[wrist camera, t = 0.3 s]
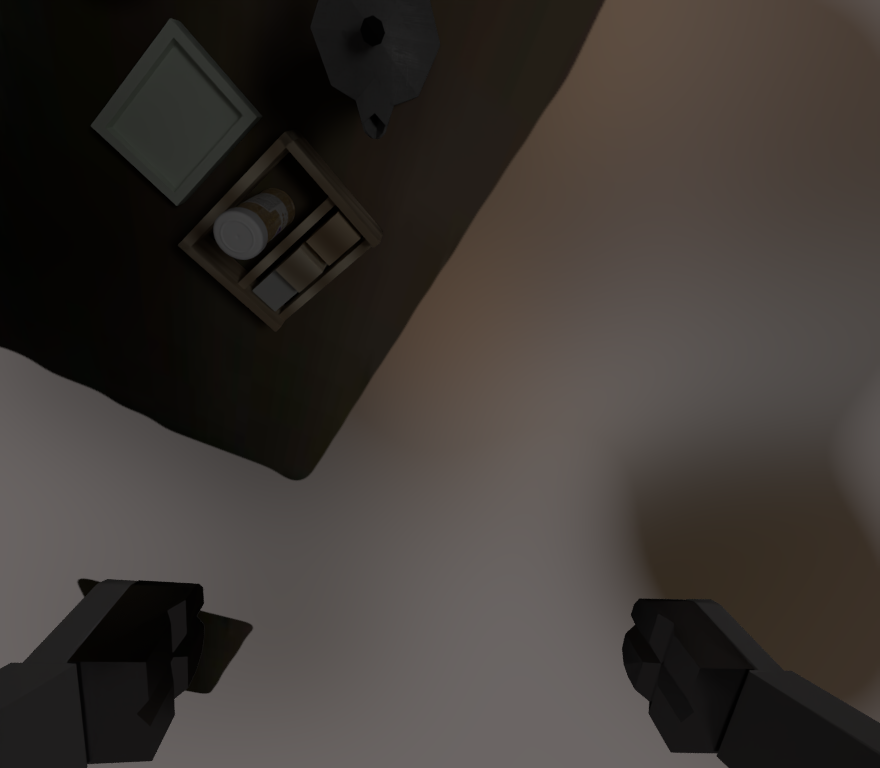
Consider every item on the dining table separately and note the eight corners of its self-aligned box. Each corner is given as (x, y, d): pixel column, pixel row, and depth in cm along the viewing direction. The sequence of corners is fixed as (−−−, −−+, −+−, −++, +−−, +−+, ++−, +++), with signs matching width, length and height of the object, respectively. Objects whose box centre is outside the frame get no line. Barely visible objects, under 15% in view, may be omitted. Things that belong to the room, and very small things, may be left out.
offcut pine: (309, 235, 54) (299, 248, 49) (330, 258, 55) (322, 272, 51) (287, 255, 55) (275, 270, 50) (308, 277, 56) (299, 292, 52)
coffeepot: (428, 133, 48) (432, 149, 33) (342, 123, 47) (306, 135, 32) (443, -59, 40) (458, -155, 25) (339, -76, 39) (289, -186, 24)
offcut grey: (285, 257, 55) (276, 267, 52) (306, 278, 57) (299, 290, 53) (262, 279, 56) (252, 290, 53) (283, 299, 58) (275, 311, 55)
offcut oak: (343, 203, 52) (337, 212, 48) (364, 227, 53) (360, 238, 49) (314, 230, 53) (306, 241, 49) (336, 253, 55) (329, 265, 51)
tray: (180, 21, 42) (170, 18, 40) (262, 116, 46) (257, 117, 45) (102, 124, 46) (90, 125, 45) (184, 202, 51) (176, 206, 49)
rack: (296, 128, 47) (284, 131, 43) (383, 231, 54) (380, 242, 49) (196, 233, 53) (177, 245, 49) (285, 315, 59) (275, 331, 55)
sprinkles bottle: (289, 233, 53) (255, 269, 42) (252, 215, 52) (206, 247, 41) (301, 198, 51) (268, 225, 40) (262, 178, 50) (217, 202, 39)
